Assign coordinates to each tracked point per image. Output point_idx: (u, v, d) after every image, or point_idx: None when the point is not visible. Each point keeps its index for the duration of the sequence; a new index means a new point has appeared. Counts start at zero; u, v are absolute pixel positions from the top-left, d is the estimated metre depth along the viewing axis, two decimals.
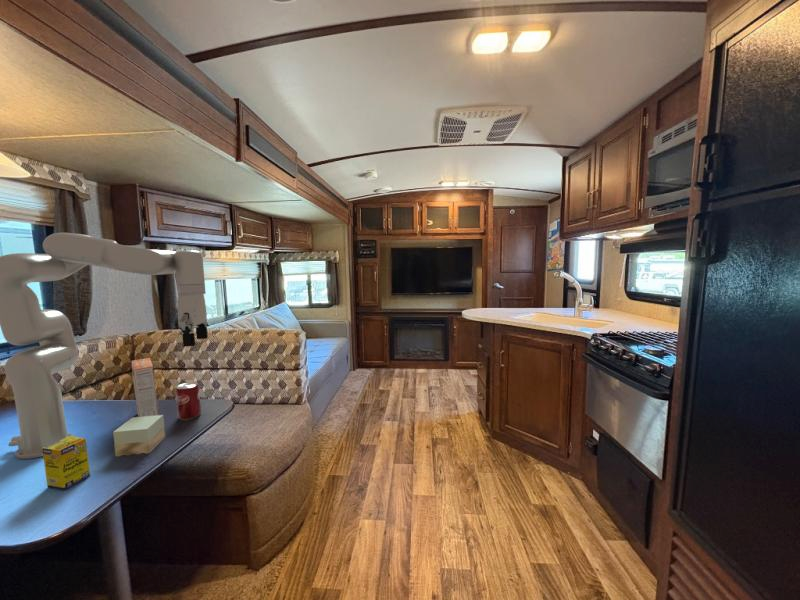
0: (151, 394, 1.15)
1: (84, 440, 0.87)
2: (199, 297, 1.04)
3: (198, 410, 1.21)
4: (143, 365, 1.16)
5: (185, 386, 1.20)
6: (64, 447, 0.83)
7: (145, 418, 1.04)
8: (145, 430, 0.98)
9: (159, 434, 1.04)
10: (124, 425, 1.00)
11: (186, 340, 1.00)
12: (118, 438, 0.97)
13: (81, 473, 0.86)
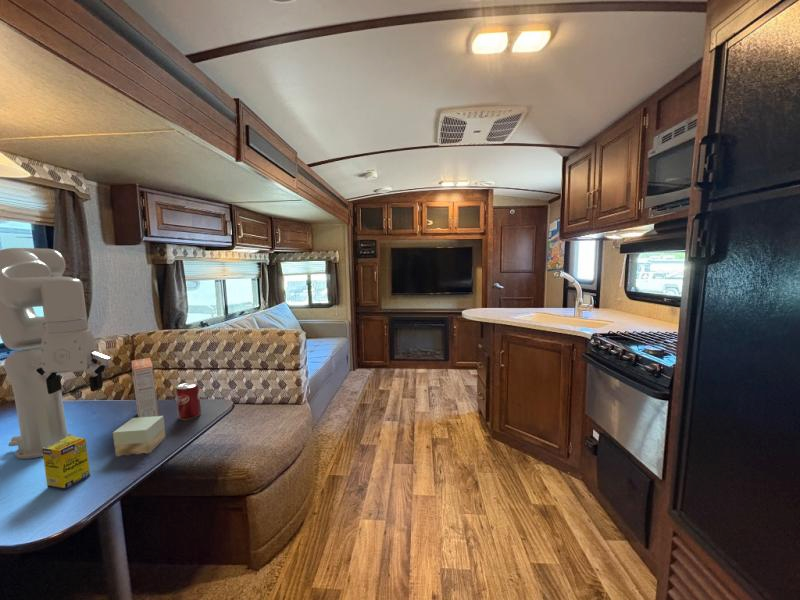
0: (151, 394, 1.15)
1: (84, 440, 0.87)
2: None
3: (198, 410, 1.21)
4: (143, 365, 1.16)
5: (185, 386, 1.20)
6: (64, 447, 0.83)
7: (145, 419, 1.04)
8: (144, 431, 0.97)
9: (160, 434, 1.04)
10: (124, 425, 1.00)
11: (99, 382, 0.86)
12: (117, 439, 0.96)
13: (81, 473, 0.86)
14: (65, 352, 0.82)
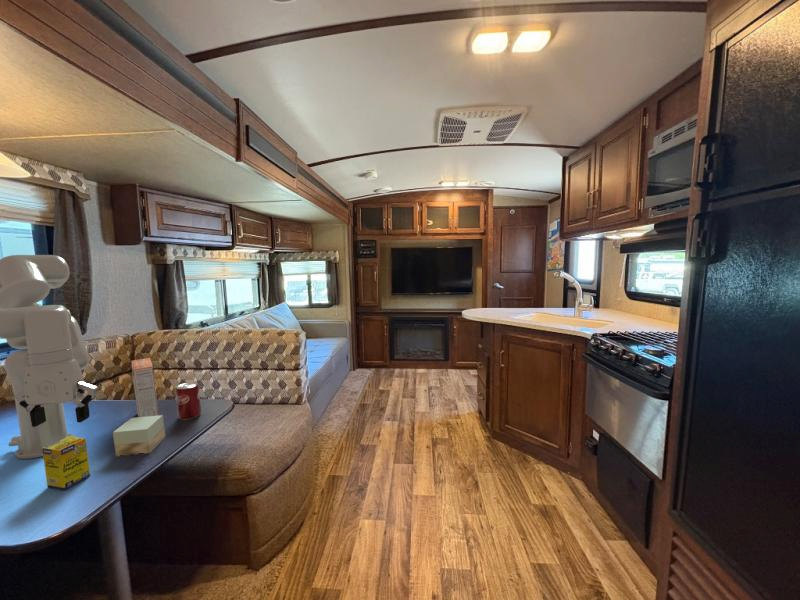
0: (151, 394, 1.15)
1: (84, 440, 0.87)
2: None
3: (198, 410, 1.21)
4: (143, 365, 1.16)
5: (185, 386, 1.20)
6: (64, 447, 0.83)
7: (144, 418, 1.04)
8: (144, 430, 0.98)
9: (160, 434, 1.04)
10: (123, 425, 1.00)
11: (86, 412, 0.84)
12: (118, 438, 0.96)
13: (81, 473, 0.86)
14: (50, 384, 0.80)
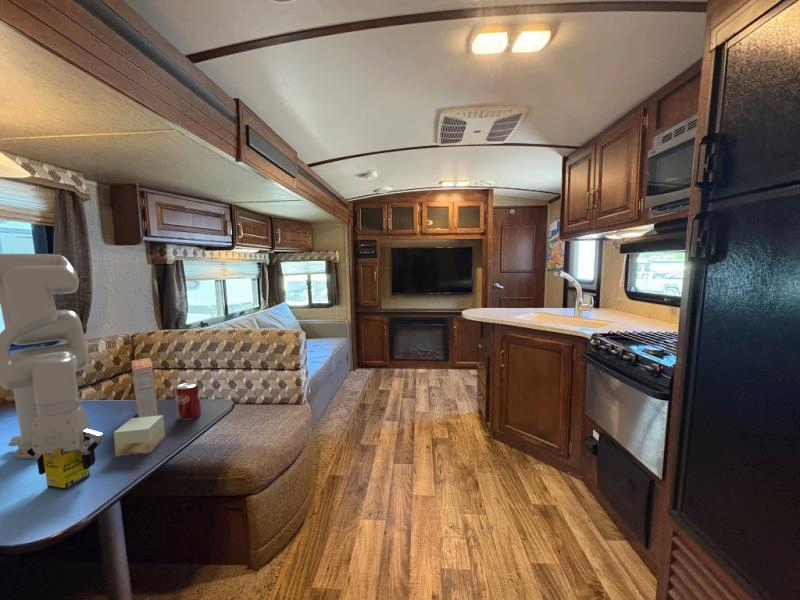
0: (151, 394, 1.15)
1: None
2: None
3: (198, 410, 1.21)
4: (143, 365, 1.16)
5: (185, 386, 1.20)
6: None
7: (145, 418, 1.04)
8: (146, 430, 0.98)
9: (159, 434, 1.04)
10: (124, 425, 1.00)
11: (91, 459, 0.86)
12: (118, 439, 0.96)
13: (81, 473, 0.86)
14: (57, 433, 0.81)
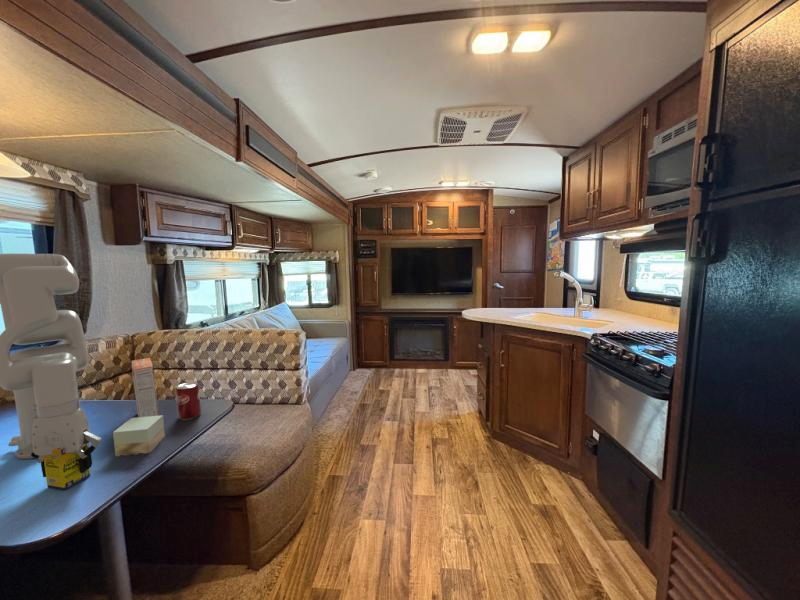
0: (151, 394, 1.15)
1: None
2: None
3: (198, 410, 1.21)
4: (143, 365, 1.16)
5: (185, 386, 1.20)
6: None
7: (145, 418, 1.04)
8: (145, 430, 0.98)
9: (159, 434, 1.04)
10: (123, 425, 1.00)
11: (88, 463, 0.86)
12: (118, 439, 0.96)
13: (81, 473, 0.86)
14: (57, 435, 0.82)
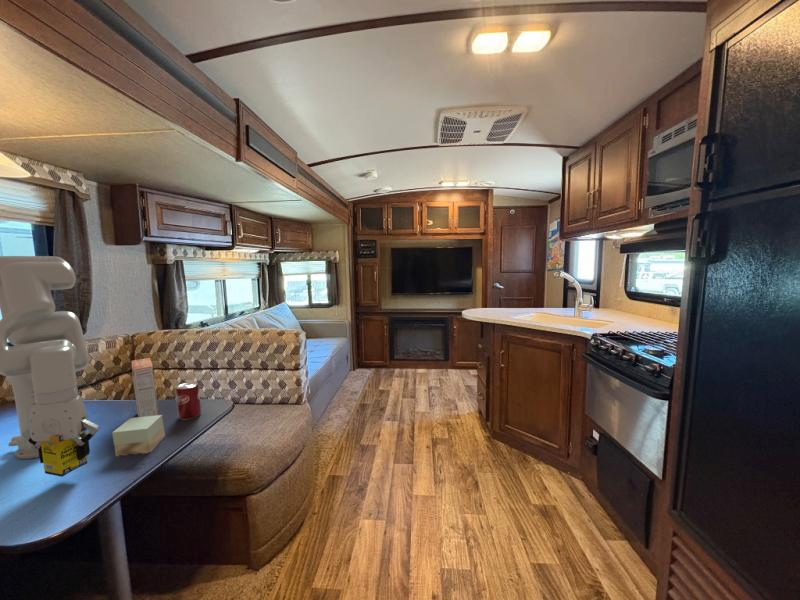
0: (151, 394, 1.15)
1: (82, 427, 0.86)
2: None
3: (198, 410, 1.21)
4: (143, 365, 1.16)
5: (185, 386, 1.20)
6: None
7: (144, 418, 1.04)
8: (144, 430, 0.98)
9: (159, 434, 1.04)
10: (123, 425, 1.00)
11: (86, 450, 0.86)
12: (117, 439, 0.96)
13: (79, 460, 0.86)
14: (55, 422, 0.81)
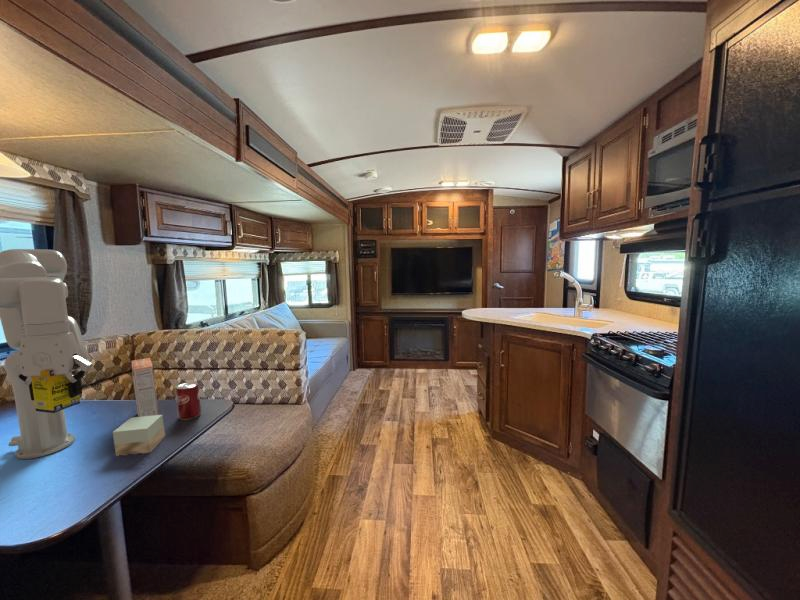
0: (151, 394, 1.15)
1: None
2: None
3: (198, 410, 1.21)
4: (143, 365, 1.16)
5: (185, 386, 1.20)
6: None
7: (144, 418, 1.04)
8: (145, 430, 0.98)
9: (160, 433, 1.04)
10: (123, 425, 1.00)
11: (78, 388, 0.84)
12: (117, 438, 0.97)
13: (71, 399, 0.84)
14: (45, 355, 0.79)
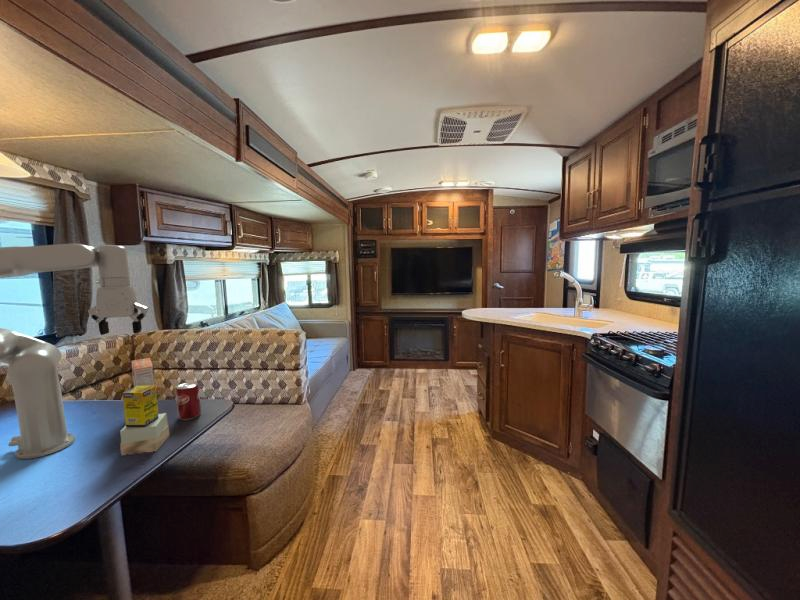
0: None
1: (155, 387, 1.03)
2: None
3: (198, 410, 1.21)
4: (143, 365, 1.16)
5: (185, 386, 1.20)
6: (144, 390, 0.99)
7: None
8: (153, 428, 0.99)
9: (164, 433, 1.05)
10: None
11: (139, 326, 1.11)
12: (125, 437, 0.97)
13: (154, 415, 1.02)
14: (115, 301, 1.07)
